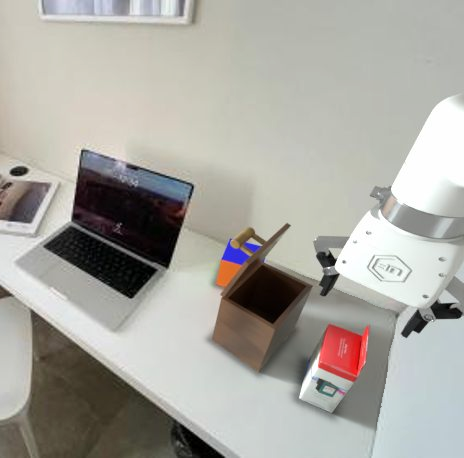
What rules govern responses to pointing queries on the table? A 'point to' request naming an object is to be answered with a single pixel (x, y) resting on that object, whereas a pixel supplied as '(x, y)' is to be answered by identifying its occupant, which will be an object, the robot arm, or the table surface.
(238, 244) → the wooden box lid
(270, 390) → the table surface
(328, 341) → the ink box
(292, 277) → the chest
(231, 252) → the cube
